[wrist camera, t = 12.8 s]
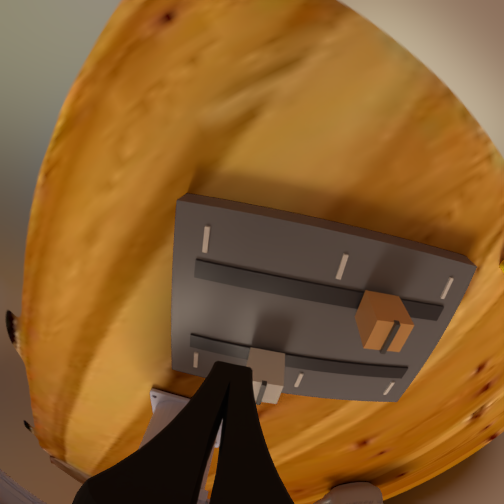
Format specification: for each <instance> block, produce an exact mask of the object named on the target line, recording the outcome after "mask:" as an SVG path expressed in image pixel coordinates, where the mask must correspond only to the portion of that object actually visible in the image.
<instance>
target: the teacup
mask: <svg viewBox="0 0 504 504" xmlns="http://www.w3.org/2000/svg"><path fill="white" fill-rule="evenodd" d="M314 504H383V498H382V493H381V491H380V489H379V488H378V487H376V486H374V485H372V484H371V483H368V482H355V483H348V484H343V485H340V486H337V487H334V488H333V489H332V490H331V491H330V492H328V493H327V494H326V495H324V497H323V498H322V499H320V500H318V501H316V502H315V503H314Z"/></svg>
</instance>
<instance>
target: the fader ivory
mask: <svg viewBox="0 0 504 504" xmlns="http://www.w3.org/2000/svg"><path fill="white" fill-rule="evenodd" d="M246 367H251V369H252V370H253V390H254V398H255V401H256V404H258V405H260V404H261V402H267V403H273V404H277V401H278V399H279V396H280V394H281V392H282V389H283V387H284V368H285V353H279V352H274V351H268V350H263V349H257V348H252V347H251V348H250V352H249V356H248V361H247V365H246Z"/></svg>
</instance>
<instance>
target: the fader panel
mask: <svg viewBox="0 0 504 504" xmlns="http://www.w3.org/2000/svg"><path fill="white" fill-rule="evenodd" d="M476 268H477V266H476V265H475V264H474V263H473V262H472V261H470V260H469V259H468V258H467V257H466V256H465V255H461V254H458V253H454V252H451V251H447V250H444V249H440V248H437V247H433V246H429V245H426V244H422V243H418V242H415V241H411V240H407V239H403V238H399V237H395V236H391V235H387V234H383V233H379V232H375V231H371V230H367V229H363V228H359V227H355V226H350V225H346V224H342V223H337V222H333V221H329V220H324V219H320V218H315V217H310V216H306V215H301V214H296V213H292V212H287V211H282V210H277V209H272V208H267V207H262V206H257V205H251V204H246V203H241V202H235V201H230V200H224V199H219V198H213V197H207V196H201V195H195V194H189V193H186V194H185V195H183V196H182V197H181V198H179V199H178V200H177V204H176V217H175V231H174V247H173V268H172V304H171V350H172V369H173V370H177V371H181V372H184V373H188V374H192V375H196V376H200V377H204V378H206V377H207V376H208V374H209V372H210V371H211V369H212V367H213V365H214V363H215V362H216V361H222V362H227V363H231V364H236V365H241V366H246V365H247V361H248V356H249V352H250V348H251V347H252V348H257V349H263V350H268V351H274V352H279V353H285V368H284V387H283V389H282V392H281V393H287V394H295V395H302V396H311V397H320V398H330V399H342V400H357V401H379V402H397V401H398V400H399V398H400V397H401V396H402V395H403V393H404V392H405V391H406V389H407V388H408V387H409V385H410V384H411V382H412V381H413V380H414V378H415V377H416V375H417V374H418V372H419V371H420V370H421V368H422V367H423V365H424V364H425V362H426V361H427V359H428V358H429V356H430V354H431V353H432V351H433V350H434V348H435V347H436V345H437V343H438V342H439V340H440V338H441V337H442V335H443V333H444V331H445V330H446V328H447V326H448V324H449V323H450V321H451V319H452V317H453V315H454V314H455V312H456V310H457V308H458V306H459V304H460V302H461V300H462V298H463V296H464V294H465V292H466V290H467V288H468V286H469V283H470V281H471V279H472V277H473V275H474V272H475V270H476ZM365 290H368V291H373V292H379V293H384V294H390V295H395V296H399V297H400V299H401V301H402V303H403V304H404V306H405V308H406V310H407V312H408V314H409V316H410V318H411V319H412V321H413V323H414V327H413V329H412V331H411V333H410V334H409V336H408V338H407V340H406V342H405V343H404V345H403V347H402V349H401V350H400V352H393V351H386V353H385V354H380V351H379V350H373V349H365V348H363V345H362V341H361V337H360V334H359V330H358V327H357V323H356V320H355V315H356V312H357V310H358V307H359V305H360V303H361V300H362V298H363V295H364V293H365Z"/></svg>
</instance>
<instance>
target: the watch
mask: <svg viewBox="0 0 504 504" xmlns="http://www.w3.org/2000/svg"><path fill="white" fill-rule="evenodd" d="M499 268H501V270H502V272H503V273H504V259H503V261H502V262H501V263H500V265H499Z"/></svg>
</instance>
